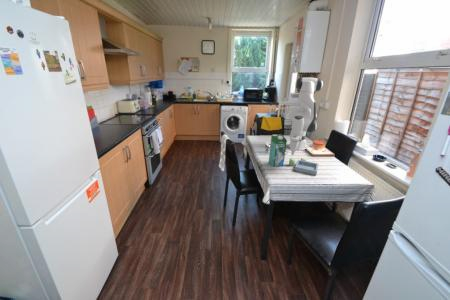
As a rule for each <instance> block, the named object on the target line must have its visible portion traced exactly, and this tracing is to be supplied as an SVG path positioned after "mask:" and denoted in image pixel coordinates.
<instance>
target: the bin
mask: <svg viewBox="0 0 450 300" xmlns="http://www.w3.org/2000/svg"><path fill="white" fill-rule="evenodd" d="M318 168H319V163H317V162H311V161H307V160H306V161H302V160H301V159H298V160H297V161H296V164H295V165H294V172H297V173H298V172H299V173H303V174H308V175H312V176H317V173H318Z"/></svg>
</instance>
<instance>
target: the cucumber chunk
mask: <svg viewBox="0 0 450 300" xmlns="http://www.w3.org/2000/svg"><path fill="white" fill-rule="evenodd" d="M288 161H289V162H288V166H289V167H295V165H296V164H295V162H296V159H295V158H289V160H288Z"/></svg>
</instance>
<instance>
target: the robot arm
mask: <svg viewBox="0 0 450 300" xmlns="http://www.w3.org/2000/svg"><path fill="white" fill-rule="evenodd" d="M323 86H324V82H323V79H322V78H319V77H318V78H316V77H302V76H300V77H298V78H297V79H296V81H295V89H297V90H298V91H299V95H298V101H299V105H300V106H301V107H302V108H304V109H293V110H290V112H289V113H288V117H289V120H291V125H290V128H291V130H290V133H289V134H290V135H289V141H290V143H289V144H288V147H289V151H291V156H294V155H295V152H296V151H303V150H304V151H306V150H305V149H306V148H305V147H306V146H307V140H306V137H307V135H306V134H307V133H310V134H311V133H314V132H315V131H316V130H317V129H318V128H317V126H318V125H317V117H318V113H317V101H316V100H315V99H314V95H315V92H320V91H321V90H322V88H323Z"/></svg>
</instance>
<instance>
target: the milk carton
mask: <svg viewBox="0 0 450 300" xmlns="http://www.w3.org/2000/svg"><path fill="white" fill-rule="evenodd" d="M270 137H271V139H270V147H269V155H268V164H269V165H270V166H272V167H275V168H276V167H284V162H285V157H286V149H287V142H288V140H287V139H286V137H284V135H283V134H282V133H280V134H275V133H274V134H271V136H270Z"/></svg>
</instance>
